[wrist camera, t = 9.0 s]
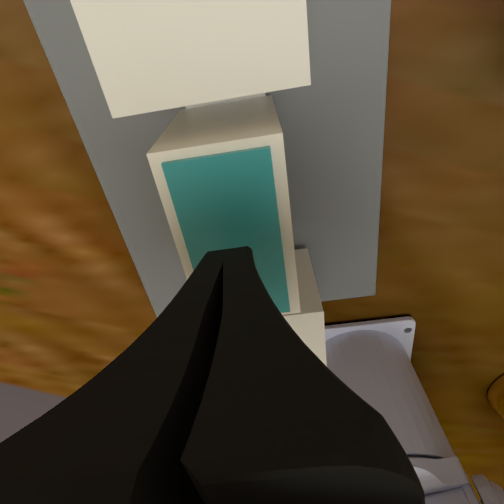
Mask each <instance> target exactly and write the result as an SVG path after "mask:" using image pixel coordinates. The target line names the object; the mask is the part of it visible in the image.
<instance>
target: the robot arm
mask: <svg viewBox="0 0 504 504" xmlns="http://www.w3.org/2000/svg"><path fill="white" fill-rule="evenodd" d="M415 326H416V322H415V320H414V319H413V317H409V316H407V317H398V318H389V319H381V320H372V321H363V322H354V323H346V324H337V325H328V326H325V344H326V362H327V366H326V365H325V364H324V363H323V362H322V361H321V360H320V359H319V358H318V357H317V356H316V355H315V354H314V353H313V352H312V351H311V350H310V349H309V347H308V346H307V345H306V344H305V343H304V342H303V341H302V340H301V338H300V337H299V336H298V335H297V334H296V332H295V331H294V330H293V329H292V327H291V326H290V325H289V323H288V322H287V321H286V320H285V318H284V317H283V315H282V314H281V312H280V311H279V310H278V308H277V307H276V305H275V303H274V302H273V300H272V299H271V297H270V295H269V294H268V292H267V290H266V288H265V286H264V284H263V282H262V280H261V278H260V276H259V274H258V272H257V269H256V267H255V262H254V257H253V251H252V249H251V248H250V247H248V246H244V247H237V248H230V249H222V250H215V251H207V253H206V254H205V255H204V256H203V258H202V259H201V261H200V262H199V264H198V265H197V266H196V268H195V269H194V271H193V272H192V274H191V275H190V276H189V278H188V279H187V281H186V282H185V283H184V285H183V286H182V287H181V289H180V290H179V291H178V293H177V294H176V295H175V297H174V298H173V299H172V301H171V302H170V303H169V304H168V305H167V307H166V308H165V309H164V310H163V311H162V313H161V314H160V315H159V316H158V317H157V319H156V320H155V321H154V322H153V323H152V324H151V325H150V326H149V327H148V328H147V329H146V330H145V331H144V332H143V333H142V334H141V335H140V336H139V337H138V338H137V339H136V340H135V341H134V342H133V343H132V344H131V345H130V346H129V347H128V348H127V349H126V350H125V351H124V352H123V353H121V354H120V355H119V356H118V357H117V358H116V359H115V360H113V361H112V362H111V363H110V364H109V365H108V366H106V367H105V368H104V369H103V370H102V371H101V372H99V373H98V374H97V375H96V376H95V377H93V378H92V379H91V380H90V381H88V382H87V383H86V384H85V385H83V386H82V387H81V388H79V389H78V390H77V391H76V392H74V393H73V394H72V395H70V396H69V397H67V398H66V399H65V400H63V401H62V402H61V403H59V404H58V405H56V406H55V407H54V408H52V409H51V410H49V411H48V412H47V413H45V414H44V415H42V416H41V417H39V418H38V419H36V420H35V421H33V422H32V423H30V424H29V425H27V426H26V427H24V428H22V429H21V430H20V431H18V432H16V433H15V434H13V435H12V436H10V437H9V438H7V439H6V440H4V441H3V442H1V443H0V504H480V503H479V501H478V499H477V497H476V495H475V493H474V491H473V489H472V487H471V484H470V482H469V480H468V478H467V476H466V474H465V472H464V470H463V468H462V466H461V463H460V461H459V459H458V457H456V456H455V455H454V453H453V451H452V448H451V446H450V444H449V442H448V440H447V438H446V436H445V434H444V431H443V429H442V427H441V425H440V423H439V421H438V419H437V417H436V415H435V412H434V410H433V408H432V406H431V404H430V402H429V400H428V398H427V396H426V393H425V391H424V389H423V387H422V385H421V383H420V381H419V379H418V376H417V374H416V372H415V370H414V368H413V366H412V364H411V362H410V360H411V354H412V347H413V340H414V333H415ZM406 328H407V329H406ZM471 478H472V481H473V483H474V485H475V487H476V489H477V491H478V494H479V496H480V498H481V503H482V504H504V491H503V489H502V488H501V487H500V486H499V485H497V484H496V483H494V482H492V481H490V480H487V479H486V477H485V476H484V475H482V474H478V475H474V476H471Z"/></svg>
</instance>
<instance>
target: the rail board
mask: <svg viewBox="0 0 504 504" xmlns="http://www.w3.org/2000/svg"><path fill="white" fill-rule="evenodd" d="M23 1H24V3H25V6H26V8H27V11H28V13H29V15H30V18H31V20H32V22H33V25H34V27H35V30H36V32H37V34H38V37H39V39H40V41H41V44H42V46H43V48H44V51H45V53H46V56H47V58H48V60H49V63H50V65H51V67H52V70H53V72H54V75H55V77H56V79H57V82H58V84H59V86H60V89H61V91H62V94H63V96H64V98H65V101H66V103H67V105H68V108H69V110H70V112H71V115H72V117H73V120H74V122H75V124H76V127H77V129H78V131H79V134H80V136H81V139H82V141H83V143H84V146H85V148H86V150H87V153H88V155H89V158H90V160H91V162H92V165H93V167H94V169H95V172H96V174H97V176H98V179H99V181H100V184H101V186H102V188H103V191H104V193H105V195H106V198H107V200H108V203H109V205H110V207H111V210H112V212H113V214H114V217H115V219H116V222H117V224H118V226H119V229H120V231H121V233H122V236H123V238H124V240H125V243H126V245H127V248H128V250H129V252H130V255H131V257H132V259H133V262H134V264H135V267H136V269H137V271H138V274H139V276H140V278H141V281H142V283H143V286H144V288H145V290H146V293H147V295H148V297H149V300H150V302H151V304H152V307H153V309H154V312H155V314H156V316H157V317H158V316H159V315H160V314H161V313H162V311H163V310H164V309H165V308H166V307H167V305H168V304H169V303H170V302H171V301H172V299H173V298H174V297H175V295H176V294H177V293H178V291H179V290H180V289H181V287H182V286H183V285H184V283H185V282H186V281H187V279H186V276H185V272H184V269H183V266H182V263H181V260H180V257H179V254H178V251H177V248H176V245H175V242H174V239H173V235H172V232H171V229H170V226H169V223H168V220H167V217H166V214H165V211H164V208H163V205H162V201H161V198H160V195H159V192H158V189H157V186H156V183H155V180H154V177H153V174H152V171H151V167H150V164H149V161H148V158H147V155H146V154H147V152H148V151H149V150H150V148H151V147H152V146H153V144H154V143H155V142H156V141H157V139H158V138H159V137H160V135H161V134H162V133H163V131H164V130H165V129H166V128H167V126H168V125H169V124H170V122H171V121H172V120H173V118H174V117H175V116H176V115H177V113H178V112H179V111H180V110H183V109H189V108H195V107H201V106H207V105H213V104H219V103H225V102H231V101H237V100H244V99H250V98H256V97H262V96H268V95H272V99H273V102H274V105H275V109H276V112H277V115H278V119H279V122H280V125H281V129H282V132H283V141H284V151H285V161H286V171H287V181H288V191H289V201H290V211H291V221H292V231H293V241H294V251H295V261H296V271H297V281H298V291H299V301H300V311H301V313H294V314H285V315H283V317H284V318H285V320H286V321H287V322H288V323H289V325H290V326H291V327H292V329H293V330H294V331H295V332H296V334H297V335H298V336H299V337H300V338H301V340H302V341H303V342H304V343H305V344H306V345H307V346H308V347H309V349H310V350H311V351H312V352H313V353H314V354H315V355H316V356H317V357H318V358H319V359H320V360H321V361H322V362H323V363H324V364H325V365H326V366H327V362H326V344H325V326H324V311H323V307H322V303H321V301H330V300H338V299H346V298H355V297H363V296H371V295H375V291H376V272H377V254H378V235H379V216H380V197H381V179H382V160H383V141H384V123H385V104H386V85H387V67H388V48H389V29H390V10H391V0H23Z"/></svg>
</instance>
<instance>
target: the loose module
mask: <svg viewBox="0 0 504 504" xmlns="http://www.w3.org/2000/svg"><path fill="white" fill-rule="evenodd" d="M146 155H147V158H148V161H149V164H150V167H151V171H152V174H153V177H154V180H155V183H156V186H157V189H158V192H159V195H160V198H161V201H162V205H163V208H164V211H165V214H166V217H167V220H168V223H169V226H170V229H171V232H172V235H173V239H174V242H175V245H176V248H177V251H178V254H179V257H180V260H181V263H182V266H183V269H184V272H185V276H186V279H188V278H189V276H190V275H191V274H192V272H193V271H194V269H195V268H196V266H197V265H198V264H199V262H200V261H201V259H202V258H203V256H204V255H205V254H206V253H207V251H215V250H222V249H230V248H237V247H244V246H248V247H250V248H251V249H252V251H253V257H254V262H255V267H256V269H257V272H258V274H259V276H260V278H261V280H262V282H263V284H264V286H265V288H266V290H267V292H268V294H269V295H270V297H271V299H272V300H273V302H274V303H275V305H276V307H277V308H278V310H279V311H280V312H281V314H282V315H285V314H294V313H301V311H300V301H299V291H298V281H297V271H296V261H295V251H294V241H293V231H292V221H291V211H290V201H289V191H288V181H287V171H286V161H285V151H284V141H283V132H282V129H281V125H280V122H279V119H278V115H277V112H276V109H275V105H274V102H273V99H272V95H268V96H262V97H256V98H250V99H244V100H237V101H231V102H225V103H219V104H213V105H207V106H201V107H195V108H189V109H183V110H180V111H179V112H178V113H177V115H176V116H175V117H174V118H173V120H172V121H171V122H170V124H169V125H168V126H167V128H166V129H165V130H164V131H163V133H162V134H161V135H160V137H159V138H158V139H157V141H156V142H155V143H154V144H153V146H152V147H151V148H150V150H149V151H148V152H147V154H146Z"/></svg>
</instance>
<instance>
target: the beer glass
mask: <svg viewBox="0 0 504 504" xmlns="http://www.w3.org/2000/svg"><path fill="white" fill-rule="evenodd" d="M487 398H488V401H489V403H490V404H491V406H492V407H493V408H494V409H495V410H496V412H497V413H498V414H499V415H500V416H501V417H502V418H503V419H504V375H502V376H501V377H499V378H498V379H497V380H496V381H495V382H494V383H493V384H492V385H491V386H490V388H489V390H488V393H487Z"/></svg>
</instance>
